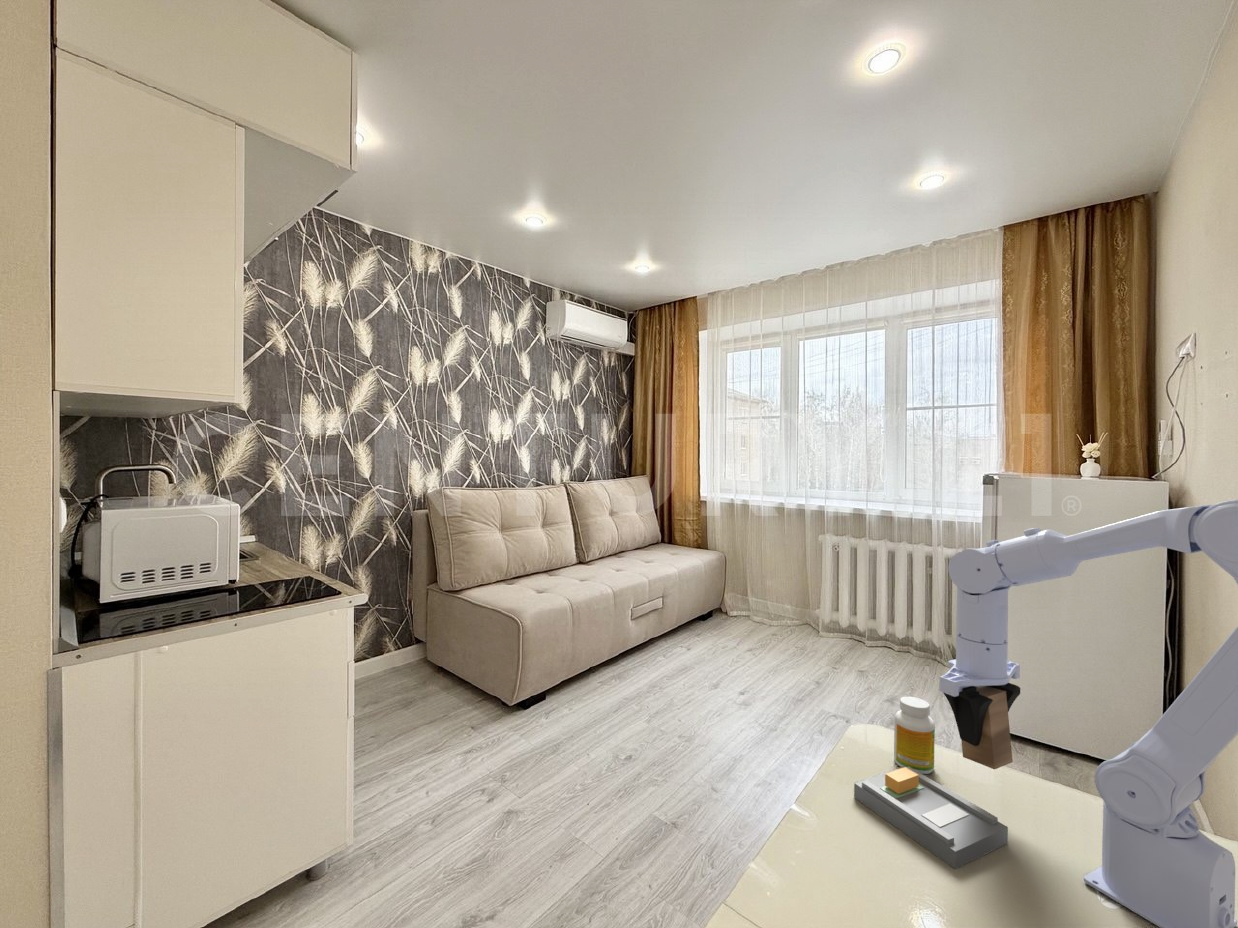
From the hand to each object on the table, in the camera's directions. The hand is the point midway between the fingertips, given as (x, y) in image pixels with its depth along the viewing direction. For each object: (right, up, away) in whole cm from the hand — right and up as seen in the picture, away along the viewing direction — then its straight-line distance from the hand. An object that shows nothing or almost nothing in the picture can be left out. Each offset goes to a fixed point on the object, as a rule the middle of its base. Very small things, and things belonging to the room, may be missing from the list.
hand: (980, 738), depth 71 cm
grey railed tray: (-9, -9, -2) cm, 13 cm away
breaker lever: (-10, -7, +1) cm, 12 cm away
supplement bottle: (-3, -10, +10) cm, 14 cm away
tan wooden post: (0, -2, -1) cm, 3 cm away
